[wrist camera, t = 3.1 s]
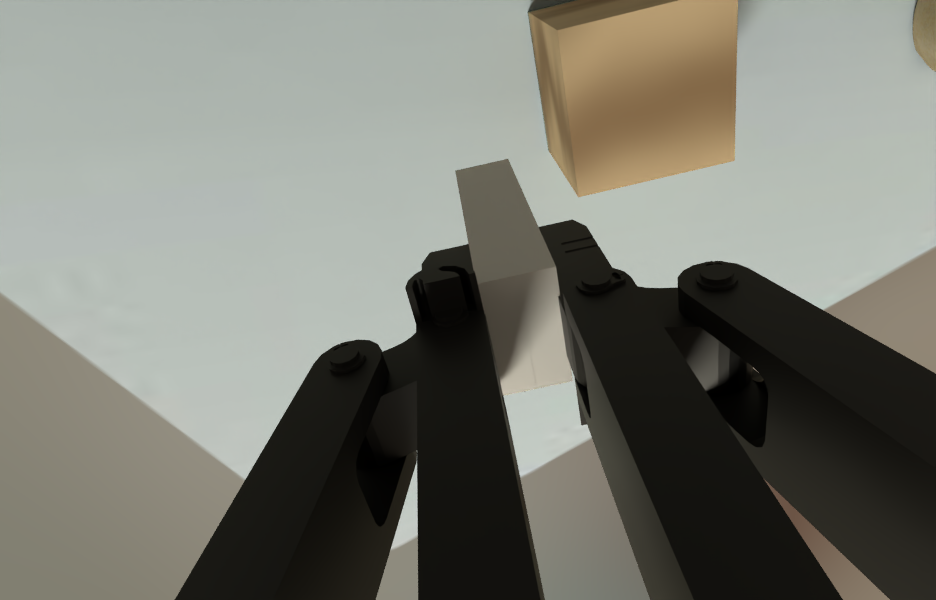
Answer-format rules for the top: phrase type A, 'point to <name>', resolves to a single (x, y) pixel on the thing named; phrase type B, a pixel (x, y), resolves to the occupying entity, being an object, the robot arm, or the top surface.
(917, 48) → the flower pot
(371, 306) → the top surface
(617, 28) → the tan cube
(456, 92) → the top surface
